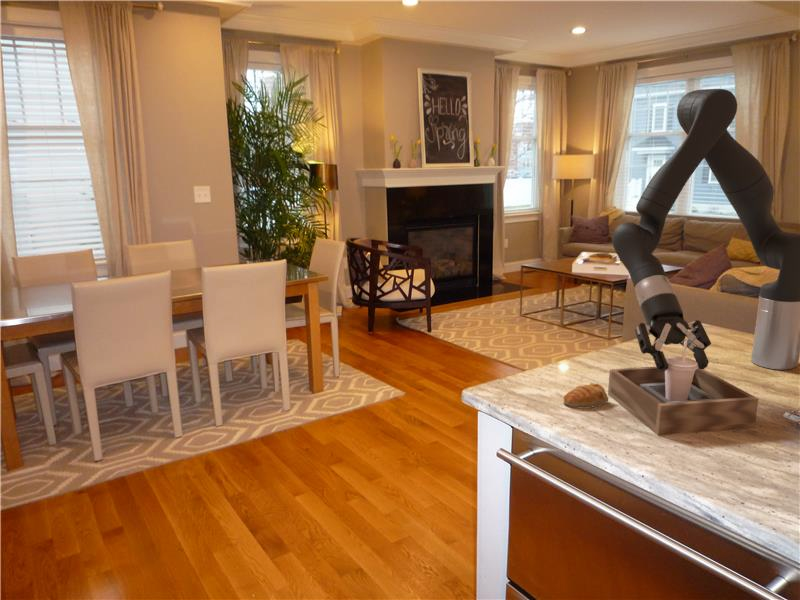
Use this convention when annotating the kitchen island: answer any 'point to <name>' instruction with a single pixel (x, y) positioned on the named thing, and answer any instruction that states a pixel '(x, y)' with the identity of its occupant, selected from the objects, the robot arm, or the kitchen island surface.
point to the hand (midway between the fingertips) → (684, 368)
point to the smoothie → (679, 376)
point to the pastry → (586, 396)
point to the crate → (682, 402)
